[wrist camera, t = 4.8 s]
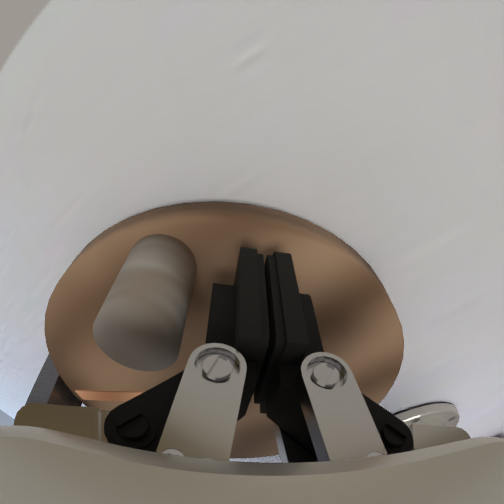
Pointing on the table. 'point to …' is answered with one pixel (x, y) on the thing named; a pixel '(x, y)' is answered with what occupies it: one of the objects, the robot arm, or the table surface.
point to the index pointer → (51, 388)
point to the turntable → (207, 304)
